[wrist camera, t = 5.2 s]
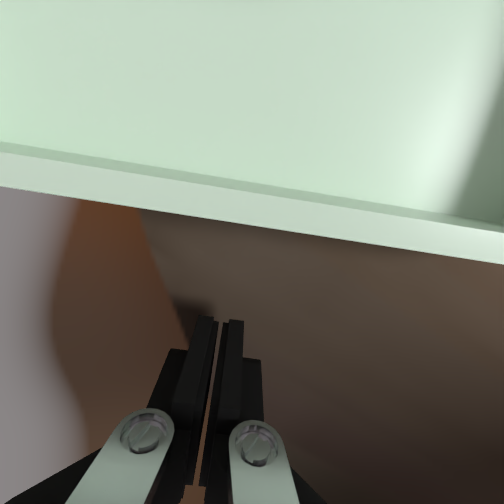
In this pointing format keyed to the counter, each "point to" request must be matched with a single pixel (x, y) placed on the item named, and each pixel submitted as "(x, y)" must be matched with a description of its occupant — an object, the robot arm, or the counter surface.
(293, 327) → the counter surface
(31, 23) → the tray
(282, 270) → the counter surface
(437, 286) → the counter surface
